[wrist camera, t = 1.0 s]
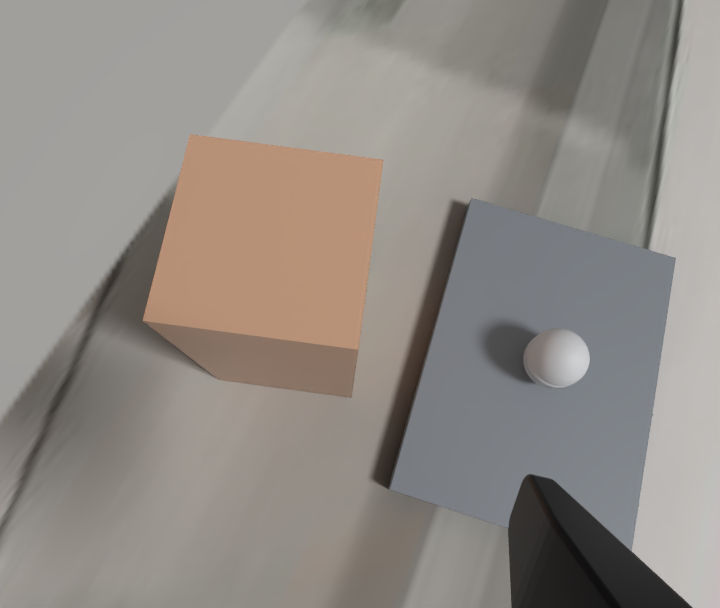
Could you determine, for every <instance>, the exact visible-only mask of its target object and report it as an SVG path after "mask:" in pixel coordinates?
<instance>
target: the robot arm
mask: <svg viewBox="0 0 720 608" xmlns="http://www.w3.org/2000/svg"><path fill="white" fill-rule="evenodd" d="M508 537H509V560H510V582H511V605H512V608H692V607H691V606H690V605H689V604H688V603H687V602H686V601H685V600H684V599H683V598H682V597H681V596H679V595H678V594H677V593H676V592H675V591H674V590H673V589H672V588H671V587H670V586H669V585H667V584H666V583H665V582H664V581H663V580H662V579H661V578H660V577H659V576H658V575H657V574H656V573H654V572H653V571H652V570H651V569H650V568H649V567H648V566H647V565H646V564H645V563H644V562H642V561H641V560H640V559H639V558H638V557H637V556H636V555H635V554H634V553H633V552H632V551H631V550H629V549H628V548H627V547H626V546H625V545H624V544H623V543H622V542H621V541H620V540H619V539H617V538H616V537H615V536H614V535H613V534H612V533H611V532H610V531H609V530H608V529H607V528H606V527H604V526H603V525H602V524H601V523H600V522H599V521H598V520H597V519H596V518H595V517H594V516H592V515H591V514H590V513H589V512H588V511H587V510H586V509H585V508H584V507H583V506H582V505H581V504H579V503H578V502H577V501H576V500H575V499H574V498H573V497H572V496H571V495H570V494H569V493H567V492H566V491H565V490H564V489H563V488H562V487H561V486H560V485H559V484H558V483H557V482H556V481H554V480H553V479H550V478H547V477H542V476H538V475H533V474H528V475H526V476H525V477H524V479H523V481H522V483H521V486H520V489H519V492H518V495H517V497H516V500H515V503H514V506H513V509H512V512H511V515H510V519H509V526H508Z"/></svg>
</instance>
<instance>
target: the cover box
mask: <svg viewBox="0 0 720 608" xmlns="http://www.w3.org/2000/svg"><path fill="white" fill-rule="evenodd" d="M382 167H383V160H381V159H373V158H365V157H358V156H350V155H343V154H335V153H328V152H320V151H312V150H305V149H297V148H290V147H282V146H275V145H267V144H259V143H252V142H244V141H237V140H229V139H222V138H214V137H206V136H199V135H191V134H190V137H189V141H188V145H187V148H186V152H185V156H184V160H183V164H182V168H181V172H180V176H179V180H178V184H177V188H176V192H175V196H174V199H173V203H172V207H171V211H170V215H169V219H168V223H167V227H166V231H165V235H164V239H163V243H162V247H161V250H160V254H159V258H158V262H157V266H156V270H155V274H154V278H153V282H152V286H151V290H150V294H149V298H148V301H147V305H146V309H145V313H144V317H143V322H145V323H146V324H147V325H149V326H150V327H151V328H153V329H154V330H155V331H156V332H158V333H159V334H160V335H162V336H163V337H164V338H165V339H167V340H168V341H169V342H171V343H172V344H173V345H174V346H176V347H177V348H178V349H180V350H181V351H182V352H183V353H185V354H186V355H187V356H189V357H190V358H191V359H192V360H194V361H195V362H196V363H198V364H199V365H200V366H202V367H203V368H204V369H205V370H207V371H208V372H209V373H211V374H212V375H213V376H214V377H216V378H217V379H218V380H224V381H232V382H239V383H246V384H254V385H261V386H269V387H276V388H284V389H291V390H298V391H306V392H313V393H321V394H328V395H336V396H343V397H352V390H353V383H354V376H355V369H356V362H357V355H358V348H359V340H360V333H361V325H362V318H363V310H364V303H365V295H366V288H367V280H368V273H369V265H370V258H371V250H372V243H373V235H374V228H375V220H376V212H377V205H378V197H379V190H380V182H381V175H382Z"/></svg>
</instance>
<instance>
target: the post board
mask: <svg viewBox="0 0 720 608" xmlns="http://www.w3.org/2000/svg"><path fill="white" fill-rule="evenodd" d="M675 259H676V258H674V257H670V256H667V255H664V254H660V253H657V252H653V251H650V250H647V249H643V248H640V247H636V246H633V245H630V244H626V243H623V242H619V241H616V240H613V239H609V238H606V237H602V236H599V235H596V234H592V233H589V232H585V231H582V230H579V229H575V228H572V227H568V226H565V225H562V224H558V223H555V222H551V221H548V220H545V219H541V218H538V217H534V216H531V215H528V214H524V213H521V212H517V211H514V210H511V209H507V208H504V207H500V206H497V205H494V204H490V203H487V202H483V201H480V200H477V199H473V198H472V199H471V201H470V203H469V205H468V207H467V210H466V214H465V217H464V221H463V224H462V228H461V231H460V235H459V238H458V242H457V245H456V249H455V253H454V256H453V260H452V263H451V267H450V270H449V274H448V277H447V281H446V284H445V288H444V292H443V295H442V299H441V302H440V306H439V309H438V313H437V316H436V320H435V323H434V327H433V331H432V334H431V338H430V341H429V345H428V348H427V352H426V355H425V359H424V362H423V366H422V370H421V373H420V377H419V380H418V384H417V387H416V391H415V394H414V398H413V401H412V405H411V409H410V412H409V416H408V419H407V423H406V426H405V430H404V433H403V437H402V440H401V444H400V448H399V451H398V455H397V458H396V462H395V465H394V469H393V472H392V476H391V479H390V483H389V487H388V489H390V490H393V491H396V492H399V493H402V494H405V495H408V496H411V497H414V498H417V499H420V500H423V501H426V502H430V503H433V504H436V505H439V506H442V507H445V508H448V509H451V510H454V511H457V512H460V513H463V514H466V515H469V516H472V517H475V518H478V519H481V520H484V521H487V522H491V523H494V524H497V525H500V526H503V527H506V528H508V526H509V519H510V515H511V512H512V509H513V506H514V503H515V500H516V497H517V495H518V492H519V489H520V486H521V483H522V481H523V479H524V477H525V476H526V475H528V474H533V475H538V476H542V477H547V478H550V479H553V480H554V481H556V482H557V483H558V484H559V485H560V486H561V487H562V488H563V489H564V490H565V491H566V492H567V493H569V494H570V495H571V496H572V497H573V498H574V499H575V500H576V501H577V502H578V503H579V504H581V505H582V506H583V507H584V508H585V509H586V510H587V511H588V512H589V513H590V514H591V515H592V516H594V517H595V518H596V519H597V520H598V521H599V522H600V523H601V524H602V525H603V526H604V527H606V528H607V529H608V530H609V531H610V532H611V533H612V534H613V535H614V536H615V537H616V538H617V539H619V540H620V541H621V542H622V543H623V544H624V545H625V546H626V547H627V548H628V549H629V550H631V551H632V544H633V538H634V531H635V525H636V518H637V511H638V505H639V498H640V491H641V485H642V478H643V472H644V465H645V458H646V452H647V445H648V438H649V432H650V425H651V419H652V412H653V405H654V399H655V392H656V385H657V379H658V372H659V366H660V359H661V352H662V346H663V339H664V332H665V326H666V319H667V313H668V306H669V299H670V293H671V286H672V279H673V273H674V266H675Z"/></svg>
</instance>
